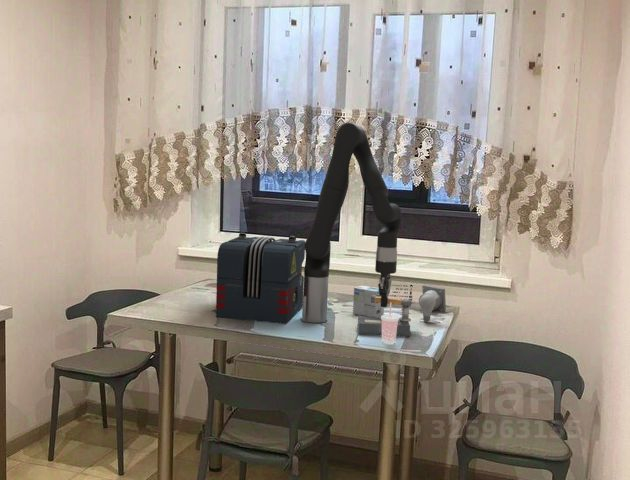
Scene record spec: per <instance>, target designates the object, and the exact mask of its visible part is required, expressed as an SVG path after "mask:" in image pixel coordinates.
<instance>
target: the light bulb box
mask: <svg viewBox="0 0 630 480" xmlns="http://www.w3.org/2000/svg"><path fill="white" fill-rule="evenodd" d="M372 295H376V296H378V297H381V296H380V295H379V287H373V286H365V285H359V286H355V287H353V302H352V303H353V306H352V314H353V315H359V316H362V317H381V316H382V315H385V314H384V311H385V307H381V303H377V302H375V303H371V296H372Z"/></svg>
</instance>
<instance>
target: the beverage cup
mask: <svg viewBox="0 0 630 480" xmlns="http://www.w3.org/2000/svg"><path fill="white" fill-rule="evenodd" d="M391 303H392V302H390V304H389V314H383V315H382V316H380V318H381V319H382V336H381V343H382V342H383V343H382V344H384V343H386V344H385V345H395V344H396V341H397V340H396V339H397V336H396V333H397V325H398V320H399V318H400V317H399V316H398V315H396V314H395V315H394V314H392V304H391ZM394 343H395V344H394Z"/></svg>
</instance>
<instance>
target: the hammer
mask: <svg viewBox="0 0 630 480" xmlns="http://www.w3.org/2000/svg"><path fill="white" fill-rule="evenodd" d="M375 302H377V303H381V297H378V296H376V295H372V296H371V303H375ZM390 302H392V303H391V305H395V306H409V307H412V304H411V303H412V301H411V300H409V299H407V298H403V299H402V298H393V297H388V303H387V305H390Z"/></svg>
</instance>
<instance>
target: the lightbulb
mask: <svg viewBox="0 0 630 480" xmlns="http://www.w3.org/2000/svg"><path fill="white" fill-rule="evenodd" d="M422 295H423V294H422ZM419 298H420V297H419ZM435 304H436V300H435V298H434V297H433V296H432V295H430V294H425V295H423V296H422V297H421V298H420V304H419V306H420V308H421V311H422V316H423V317H422V318H423V320H422V321H423V322H425V323H428V322H430V320H431V316H432V312H433V311H432V309H433V308H434V306H435Z"/></svg>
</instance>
